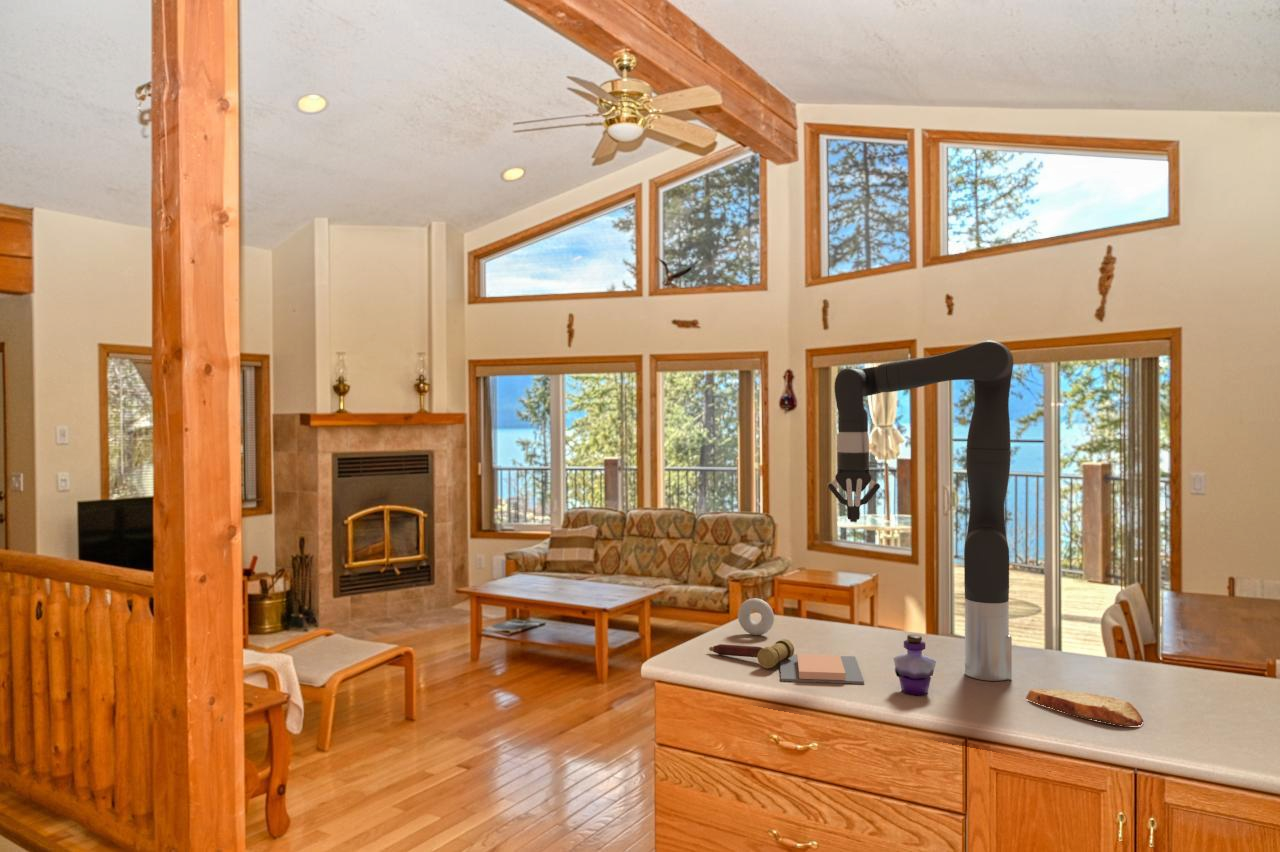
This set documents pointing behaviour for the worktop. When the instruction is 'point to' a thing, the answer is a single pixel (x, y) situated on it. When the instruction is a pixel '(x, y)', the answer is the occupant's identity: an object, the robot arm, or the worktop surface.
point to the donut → (762, 608)
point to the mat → (791, 674)
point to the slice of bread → (1088, 706)
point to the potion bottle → (914, 667)
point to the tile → (820, 667)
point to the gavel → (759, 652)
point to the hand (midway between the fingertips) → (853, 521)
